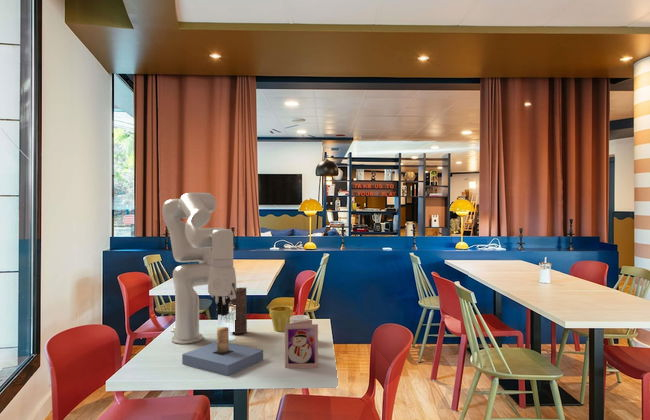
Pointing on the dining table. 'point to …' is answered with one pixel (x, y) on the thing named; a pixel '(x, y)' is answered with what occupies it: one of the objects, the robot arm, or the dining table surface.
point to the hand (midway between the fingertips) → (222, 314)
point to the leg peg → (222, 341)
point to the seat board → (222, 358)
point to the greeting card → (301, 345)
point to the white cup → (298, 318)
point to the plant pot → (280, 317)
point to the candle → (240, 310)
